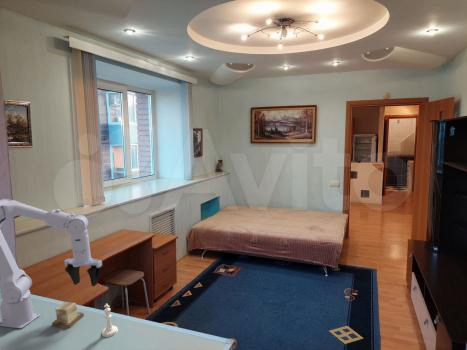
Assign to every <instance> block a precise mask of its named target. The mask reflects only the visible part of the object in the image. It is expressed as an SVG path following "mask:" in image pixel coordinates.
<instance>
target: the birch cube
mask: <svg viewBox="0 0 467 350" xmlns="http://www.w3.org/2000/svg"><path fill="white" fill-rule="evenodd" d="M77 312H78V310H77V303H76V302H69V301H67V302H66V301H65V302H63V303H62V304H61V305H59V306H58V307H56V308H55V316H56V319H57V321H61V322H69V321H70V320H72V319H73V318H74V317H75V316H77Z"/></svg>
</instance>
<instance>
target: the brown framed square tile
mask: <svg viewBox="0 0 467 350" xmlns="http://www.w3.org/2000/svg"><path fill="white" fill-rule="evenodd" d="M84 317H85V314H84V312H79V311H77V316H75V317H74V318H73V319H72V320H70V321H69V322H61V321H57V318H56V319H55V320H54V321H52V322H51V325H52V326H53V327H57V328H59V327H60V328H67V329H70V328H72V327H73V326H74V325H75V324H76V323H78V322H79V321H80V320H81V319H82V318H84Z"/></svg>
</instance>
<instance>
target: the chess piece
mask: <svg viewBox="0 0 467 350" xmlns="http://www.w3.org/2000/svg"><path fill="white" fill-rule="evenodd" d="M110 306H111V305H109V304H108V303H105V305H104V306H103V307H104V308H105V309H103V312H104V314H105V316H104V319H105V320H106V327H105V328H104V329H103V330H102V331H101V335H102V337H105V338H109V337H112V336H114V335H117V333H118V331H119V329H118V326H116V325H113V324H112V320H111V318H112V316H113V315H112V314H111V308H110Z"/></svg>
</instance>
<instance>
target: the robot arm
mask: <svg viewBox="0 0 467 350" xmlns="http://www.w3.org/2000/svg"><path fill="white" fill-rule="evenodd" d="M19 216H20V217H24V218H29V219H33V220H38V221H43V222H44V223H45V224H46V225H47V226H49V227H51V228H52V227H53V228H56V229H59V230H65V231H67V232H68V233H69V234H70V242H71V249H72V250H71V251H72V256H73V257H72V258H65V260H64V266H65V268H64V270H65V272H66V273H68V275H69V277H70V278H71V281H72V282H73V285H75V286H76V285H78V284H80V282H81V278H80V268H81V267H89V268H87V269H86V272H87V274H88V275H89V279H90V283H91V287H95V286H97V285H98V281H99V280H98V279H99V275H100V272H101V269H102V267H103V260H101V259H100V260H99V259H96V258H93V257H92V254H91V253H92V252H91V246H90V236H89V232H88V226H89V219H88V217H87V216H85V215H83V214H80V213H79V214H75V213H67V212H64V211H62V209H60V208H57V209H52V210H49V211H47V210H44V209H41V208H38V207H35V206H32V205H29V204H25V203H23V202H20V201H17V200H15V199H12V200H11V199H9V198H1V199H0V297H1V299H2V301H1V303H0V316H1V322H2V323H1V324H0V326H1V327H7V328H12V329H13V328H14V329H23V328H25V327H26V326H27V325H29V324H30V323H32V322H33V321H35V320H37V319H38V318H39V317H40V316H41V314H40V313H34V307H33V301H32V294H31V291H30V288H31V287H32V286H33V281H32V278H31V277H30V276H29V275H28V274H26V272H25V270H24V269H21V268H19V267H18V264H17V262H16V259H15V258H14V255H13V253H12V251H11V249H10V247H9V245H8V242H7V241H6V239H5V236H4V234H3V232H2V230H1V228H2V227H3V225H4V223H5V221H6V220H7V219H10V218H11V219H12V218H14V217H15V218H16V217H19Z"/></svg>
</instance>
